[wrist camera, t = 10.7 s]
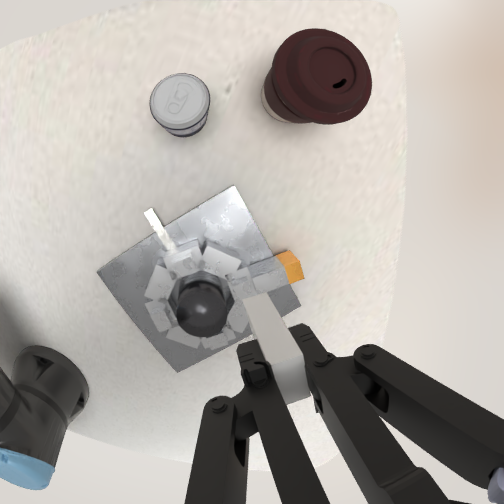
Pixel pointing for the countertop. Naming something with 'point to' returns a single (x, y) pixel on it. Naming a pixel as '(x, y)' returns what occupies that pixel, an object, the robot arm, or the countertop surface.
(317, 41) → the coffee cup
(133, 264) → the flange plate
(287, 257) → the segmented block ring
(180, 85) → the beverage can
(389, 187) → the countertop surface
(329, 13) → the countertop surface
